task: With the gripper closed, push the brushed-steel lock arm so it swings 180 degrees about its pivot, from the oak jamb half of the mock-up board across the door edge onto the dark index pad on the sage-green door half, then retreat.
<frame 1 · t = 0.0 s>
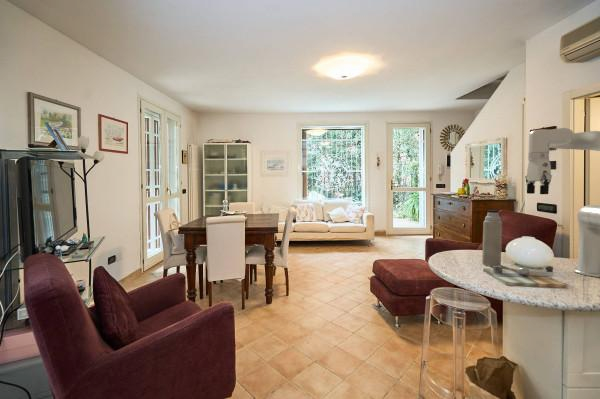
hand: (537, 193, 138), 37 cm above the countertop, tool pointing down, fingers open, 9 cm apart
lock board: (520, 278, 130), on the countertop
lock arm: (535, 270, 129), point 4 cm above the countertop, hinge at 180.0°
thermos bottle: (491, 265, 152), on the countertop
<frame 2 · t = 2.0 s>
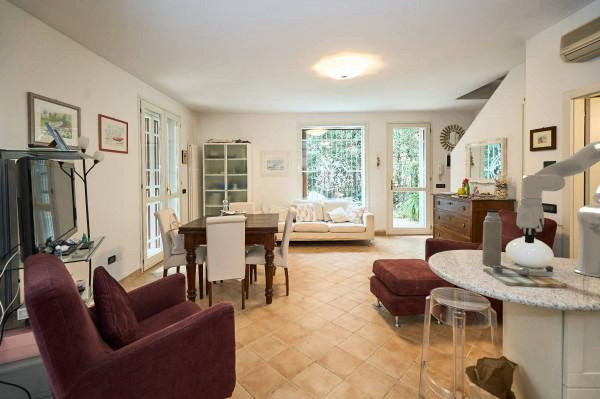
hand: (529, 242, 134), 15 cm above the countertop, tool pointing down, fingers closed
nothing on the countertop moved.
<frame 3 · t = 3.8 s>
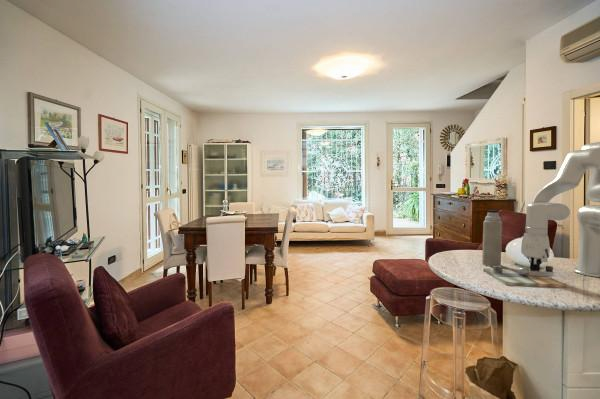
hand: (534, 272, 132), 2 cm above the countertop, tool pointing down, fingers closed
lock arm: (535, 270, 129), point 4 cm above the countertop, hinge at 180.0°, touching gripper
everything else where it was.
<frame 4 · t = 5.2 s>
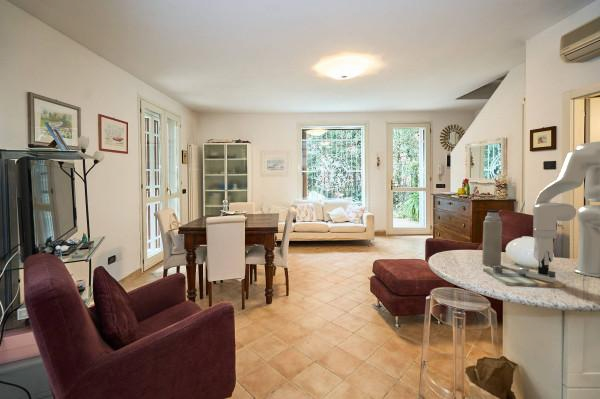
hand: (543, 276, 126), 2 cm above the countertop, tool pointing down, fingers closed
lock arm: (536, 273, 125), point 4 cm above the countertop, hinge at 125.2°, touching gripper
everything else where it was.
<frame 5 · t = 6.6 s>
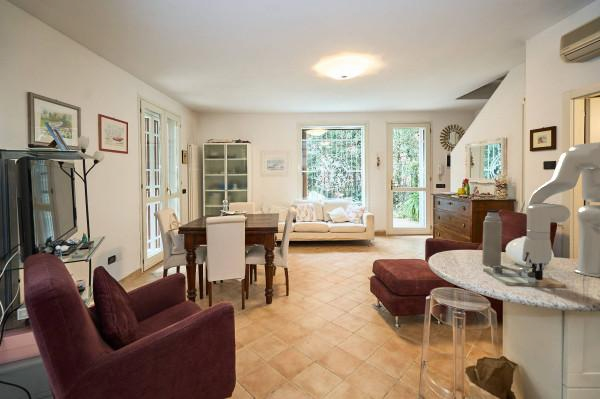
hand: (537, 279, 123), 2 cm above the countertop, tool pointing down, fingers closed
lock arm: (527, 273, 125), point 4 cm above the countertop, hinge at 75.1°, touching gripper
everything else where it was.
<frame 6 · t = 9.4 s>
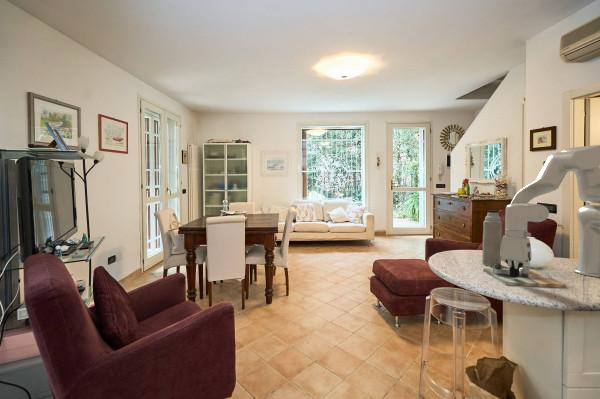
hand: (514, 276, 125), 2 cm above the countertop, tool pointing down, fingers closed
lock arm: (511, 269, 131), point 4 cm above the countertop, hinge at -5.4°
everything else where it was.
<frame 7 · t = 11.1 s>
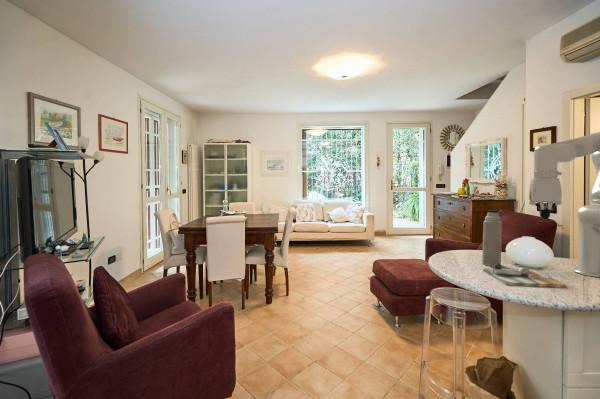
hand: (544, 218, 125), 27 cm above the countertop, tool pointing down, fingers closed
nothing on the countertop moved.
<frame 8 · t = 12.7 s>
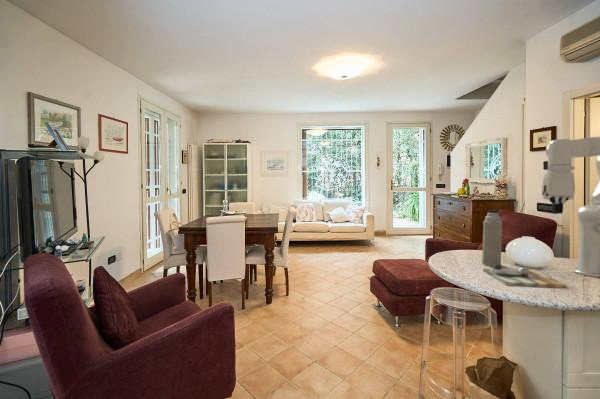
hand: (557, 213, 125), 29 cm above the countertop, tool pointing down, fingers closed
nothing on the countertop moved.
at the end: lock arm at -5° (first picture: +180°) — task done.
